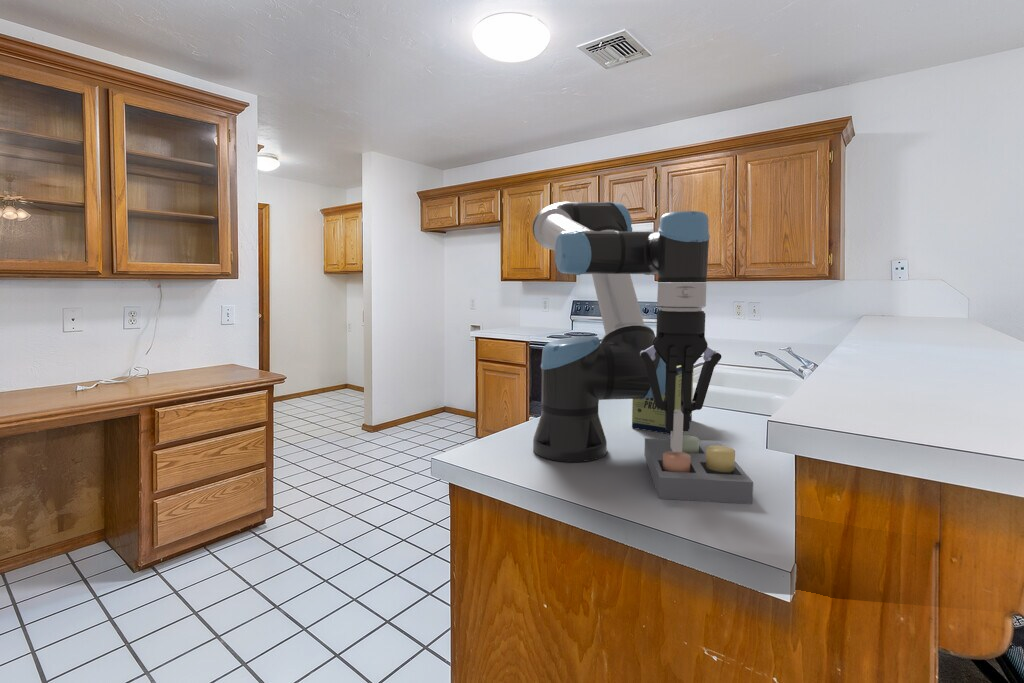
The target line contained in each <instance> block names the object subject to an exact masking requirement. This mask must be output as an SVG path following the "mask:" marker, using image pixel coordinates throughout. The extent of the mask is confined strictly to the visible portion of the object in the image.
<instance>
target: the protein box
mask: <svg viewBox="0 0 1024 683" xmlns="http://www.w3.org/2000/svg"><path fill="white" fill-rule="evenodd" d="M694 368H695V367H694V364H693V372H692V392H691V401H692V400H693V397H694V394H693V391H694V388H693V386H694ZM681 379H682V369H681V365H679V366H677V370H676V382H675V408H674V410H681ZM662 400H663V401H665V393H664V394H663V395H662ZM631 403H632V405H631V406H632V408H631V409H632V410H631V411H632V413H631V418H632V419H631V428H632V427H633V428H632V429H635V428H639V429H638V430H642V429H645V430H644V431H648V430H651V431H650V432H654V431H657V432H656V433H660V432H663V433H662V434H666V433H669V434H668V435H671V431H667V430H666V428H665V411H664V410H663V409H659V408H657V407H656V405H655V403H654V400H653V398H646V399H632V402H631ZM692 417H693V411H692V412H691V414H690V422H691V420H693V418H692Z"/></svg>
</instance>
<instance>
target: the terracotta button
mask: <svg viewBox="0 0 1024 683" xmlns="http://www.w3.org/2000/svg"><path fill="white" fill-rule="evenodd" d="M690 459H691V456H690V455H689V454H687V453H684V452H673V451H667V452H664V453H663V471H667V472H687V473H690Z"/></svg>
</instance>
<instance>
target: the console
mask: <svg viewBox="0 0 1024 683" xmlns="http://www.w3.org/2000/svg"><path fill="white" fill-rule="evenodd" d="M670 439H671V438H656V437H655V438H650V437H644V450H643V451H644V453H643V454H644V458H645V461H646V464H647V467H648V470H649V473H650V476H651V479H652V483H653V484H654V485H653V486H654V487H655V491H656V495H657V497H658V500H659V499H660V500H661V499H662V500H676V501H677V500H678V501H694V502H695V501H696V502H710V503H711V502H715V503H731V504H746V505H748V504H749V505H750V504H751V505H752V504H753V494H754V493H753V492H754V491H753V490H754V489H753V488H754V482H753V481H752V479H751V478H750V476H749V475H748V474H747V473H746V472H745V471H744V469H743V468H742V467H741V466H740V465H739V463H737V461H736V460H735V469H734V471H731V472H719V471H714V470H711V469H709V468H707V467H706V449H707V447H708V446H714V445H717V446H723V445H722V444H721V443H720V441H719V440H702V439H701V440H700V439H699V453H687V454H689V455H690V456H691V459H690V473H687V472H667V471H663V453H664V452H667V451H672V449H671V447H670Z"/></svg>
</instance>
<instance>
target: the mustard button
mask: <svg viewBox="0 0 1024 683" xmlns="http://www.w3.org/2000/svg"><path fill="white" fill-rule="evenodd" d="M735 461H736V450H735V449H734V448H732V447H730V446H726V445H725V446H724V445H722V446H717V445H714V446H708V447H707V449H706V467H707V468H709V469H711V470H714V471H719V472H731V471H734V469H735Z"/></svg>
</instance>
